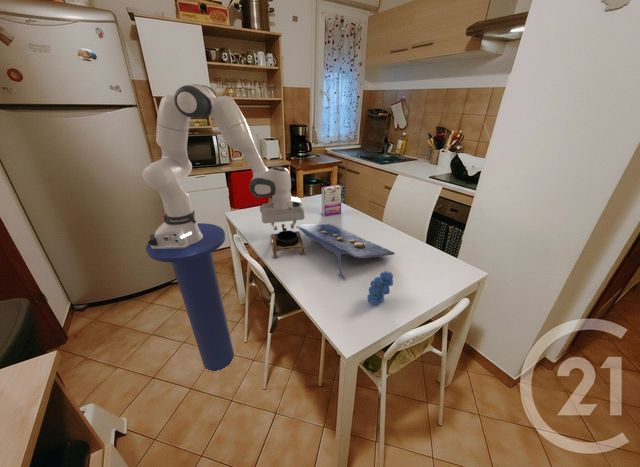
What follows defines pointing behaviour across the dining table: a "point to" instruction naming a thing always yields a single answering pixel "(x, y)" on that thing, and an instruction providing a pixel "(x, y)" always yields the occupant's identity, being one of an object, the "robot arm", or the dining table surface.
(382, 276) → the grapes
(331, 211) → the candy bar box
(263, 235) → the dining table surface
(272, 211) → the robot arm
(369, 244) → the blue piece
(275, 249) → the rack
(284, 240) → the pan
